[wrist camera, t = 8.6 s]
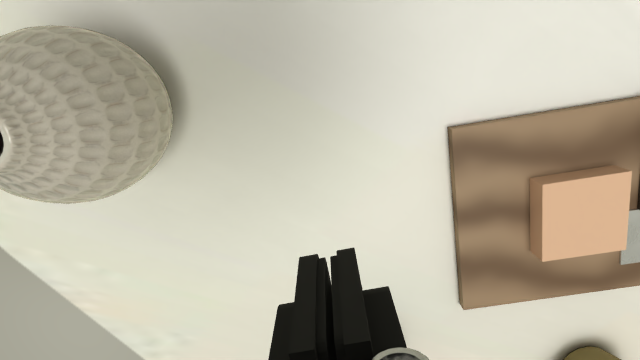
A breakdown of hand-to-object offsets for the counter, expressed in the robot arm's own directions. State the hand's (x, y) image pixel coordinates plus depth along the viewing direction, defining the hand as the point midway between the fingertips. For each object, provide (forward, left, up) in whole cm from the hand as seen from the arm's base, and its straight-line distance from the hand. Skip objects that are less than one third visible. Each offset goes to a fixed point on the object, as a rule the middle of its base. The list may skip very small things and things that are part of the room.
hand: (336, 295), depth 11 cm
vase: (-6, -18, -27) cm, 33 cm away
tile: (+11, +19, -24) cm, 33 cm away
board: (+11, +22, -27) cm, 37 cm away
